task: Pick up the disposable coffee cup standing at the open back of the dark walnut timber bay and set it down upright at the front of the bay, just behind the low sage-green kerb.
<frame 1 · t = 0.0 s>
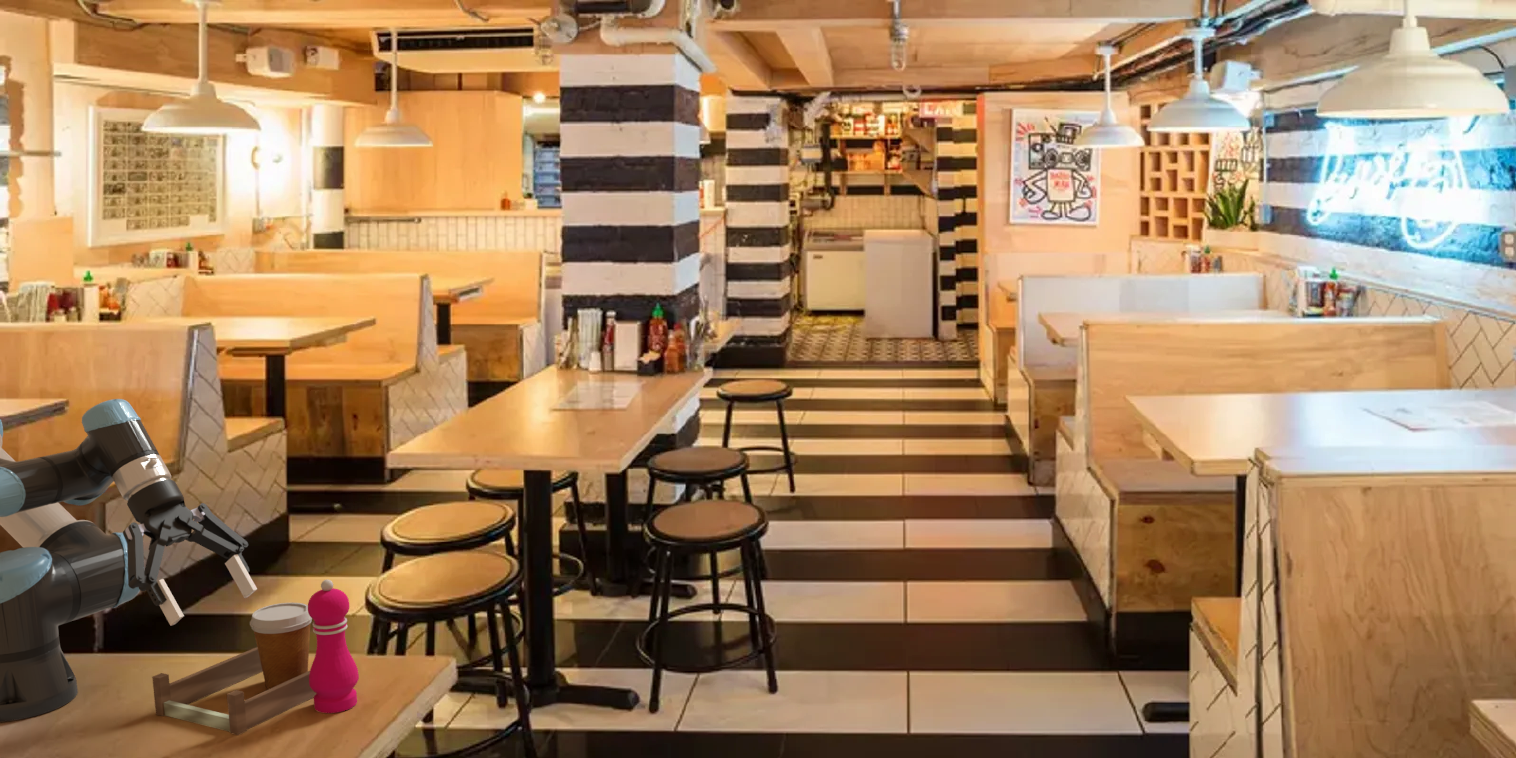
hand: (215, 607, 193), 15 cm above the table, tool tilted 35°, fingers open, 13 cm apart
bay: (251, 698, 196), on the table
disposable coffee cup: (286, 684, 203), on the table
pepper mill: (336, 706, 193), on the table
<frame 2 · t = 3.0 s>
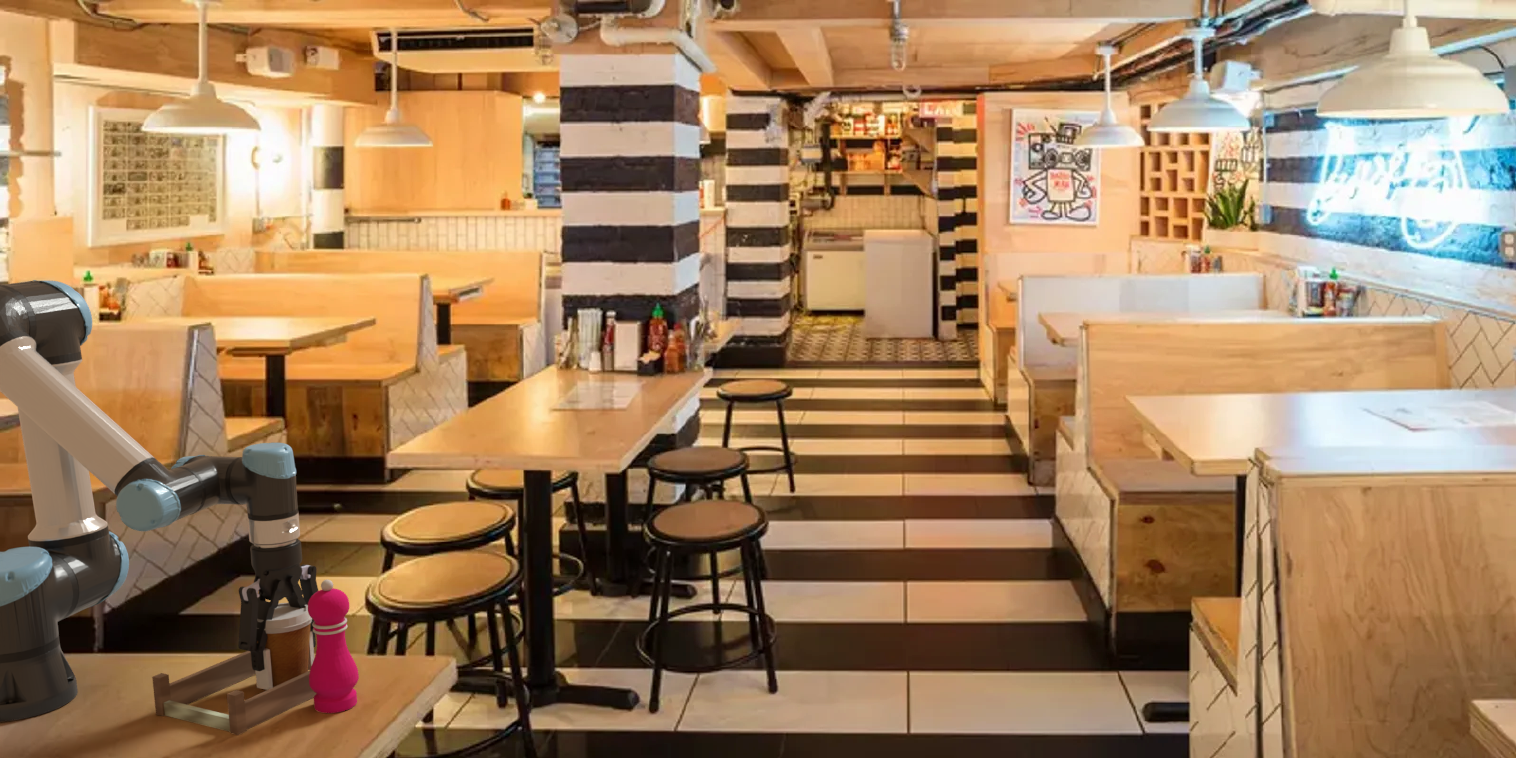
hand: (286, 678, 202), 1 cm above the table, tool pointing down, fingers closed on disposable coffee cup, 8 cm apart
disposable coffee cup: (287, 684, 203), on the table, touching gripper
everything else where it was.
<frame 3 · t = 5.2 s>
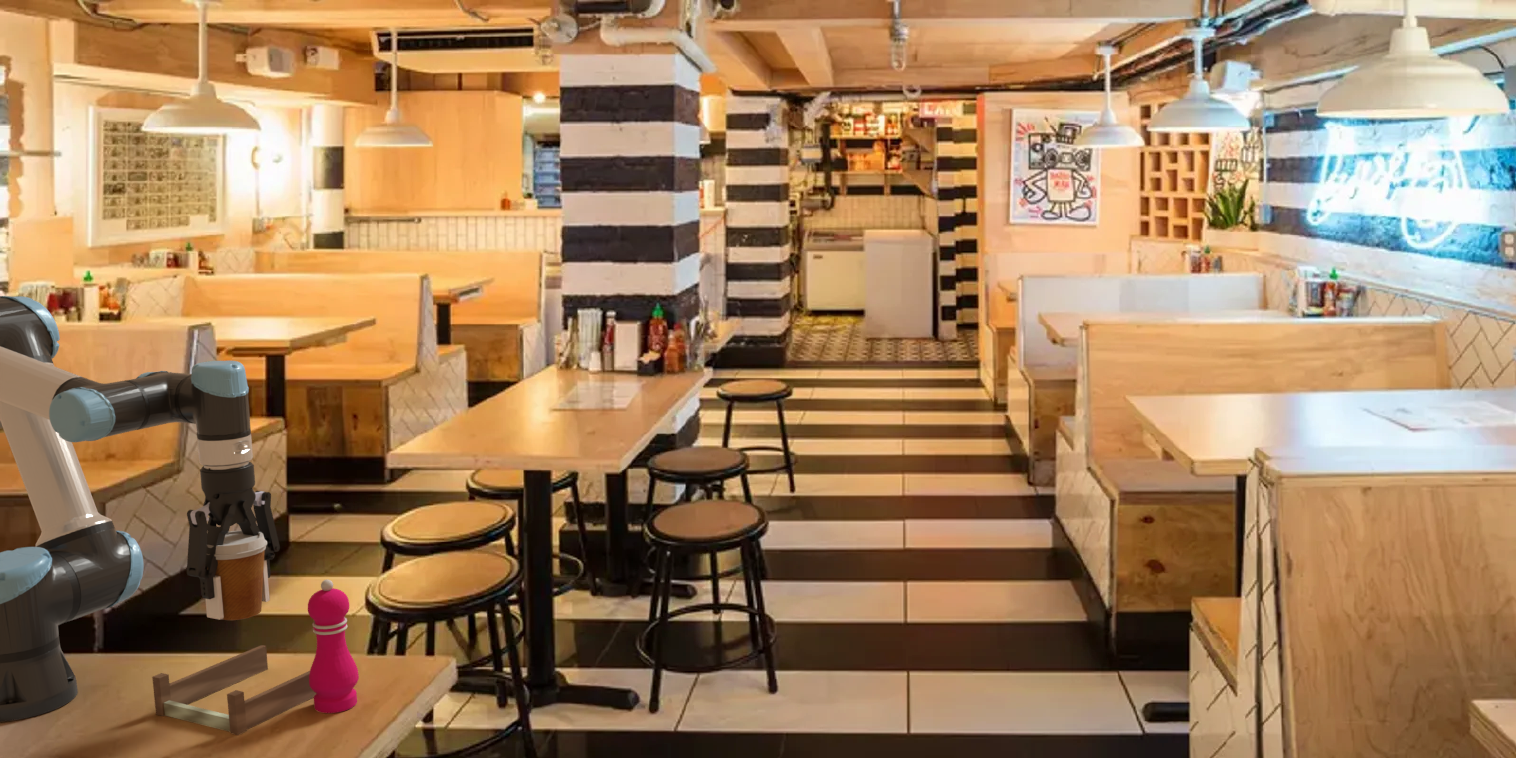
hand: (238, 608, 193), 15 cm above the table, tool pointing down, fingers closed on disposable coffee cup, 8 cm apart
disposable coffee cup: (239, 614, 193), point 14 cm above the table, touching gripper
everything else where it was.
when the fingers open (3 cm above the table, at t = 7.8 s): disposable coffee cup drops 2 cm, on the table.
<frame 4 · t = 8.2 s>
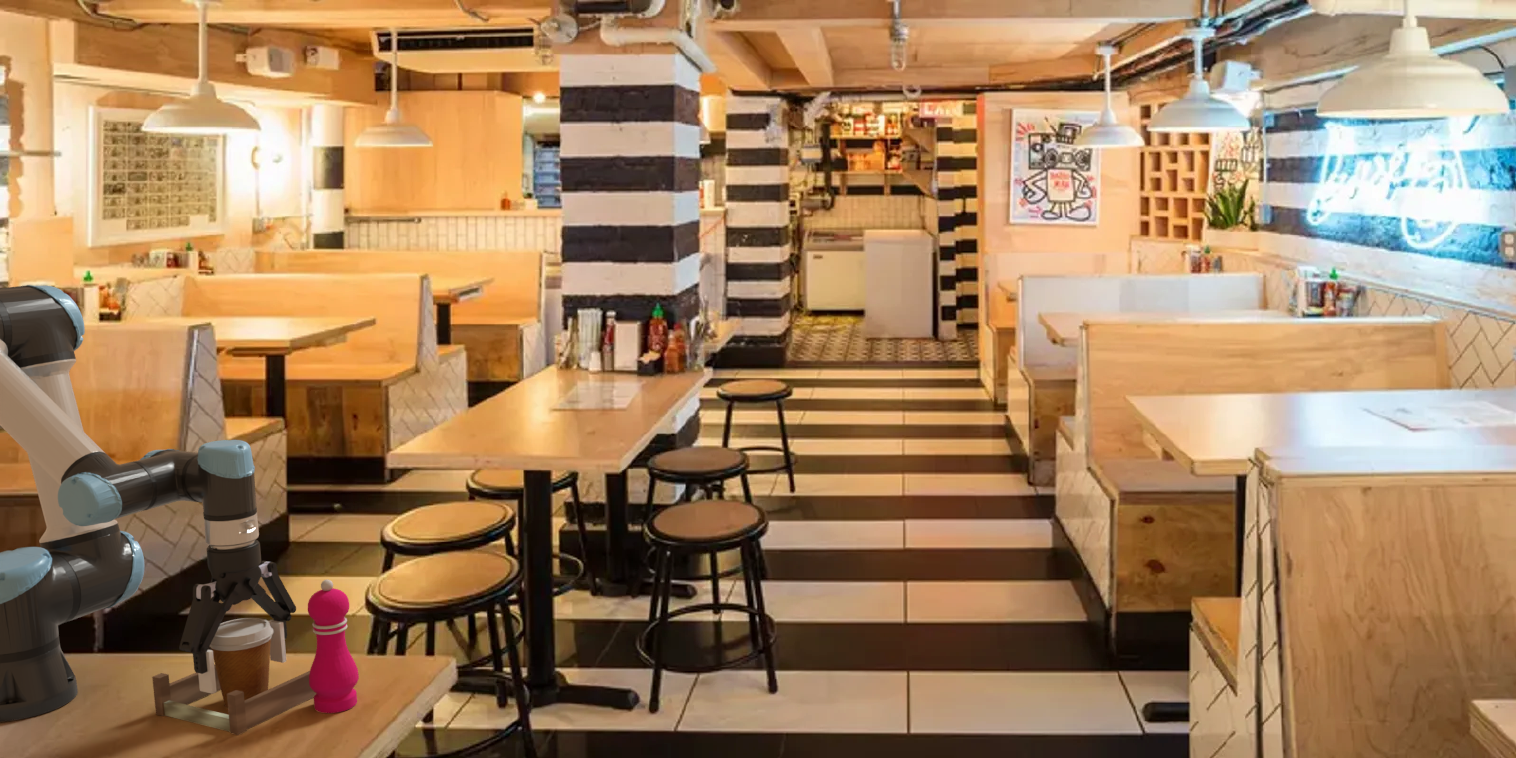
hand: (244, 675, 195), 4 cm above the table, tool pointing down, fingers open, 13 cm apart
disposable coffee cup: (246, 702, 196), on the table
everything else where it was.
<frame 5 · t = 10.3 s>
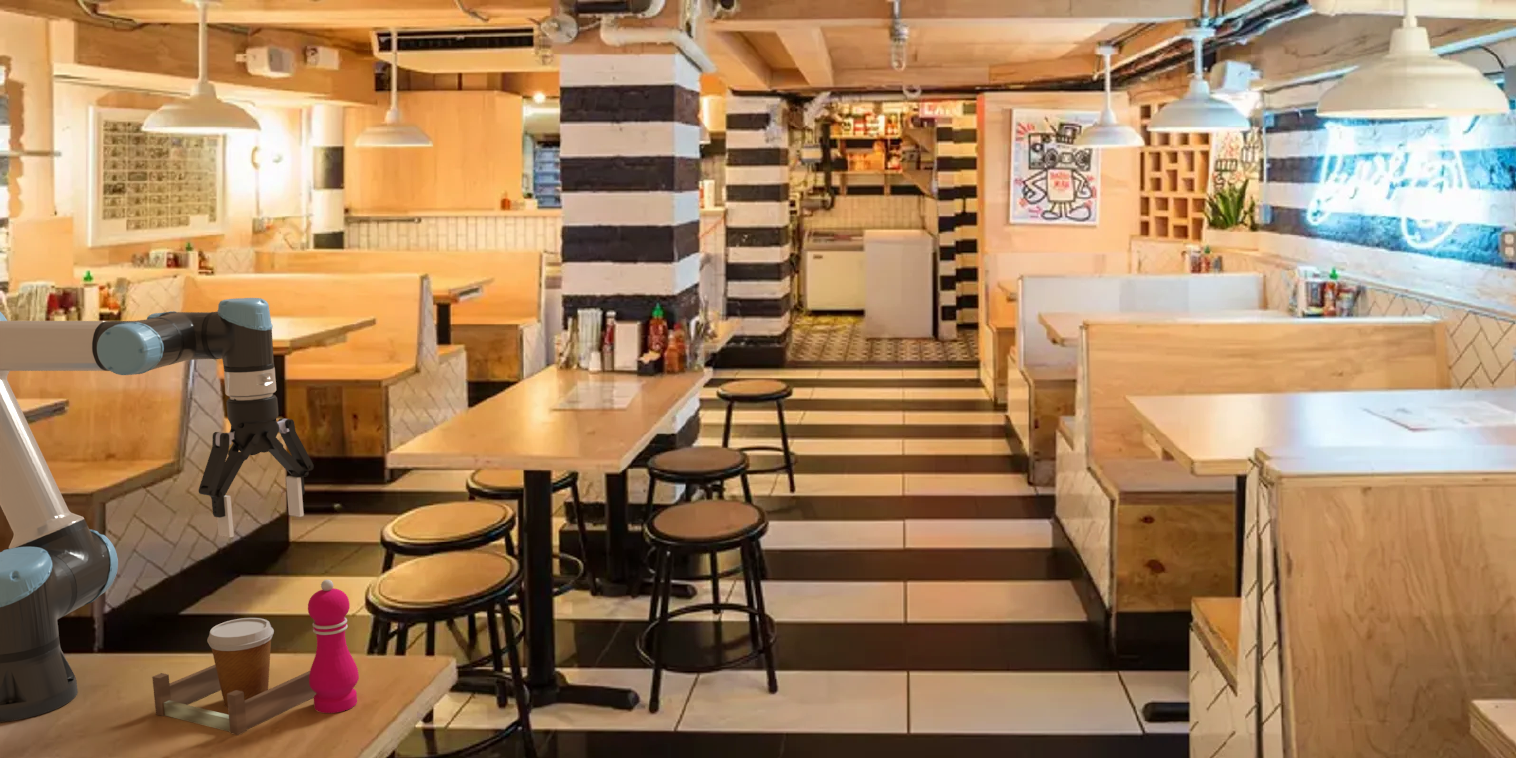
hand: (262, 525, 203), 25 cm above the table, tool pointing down, fingers open, 13 cm apart
nothing on the table moved.
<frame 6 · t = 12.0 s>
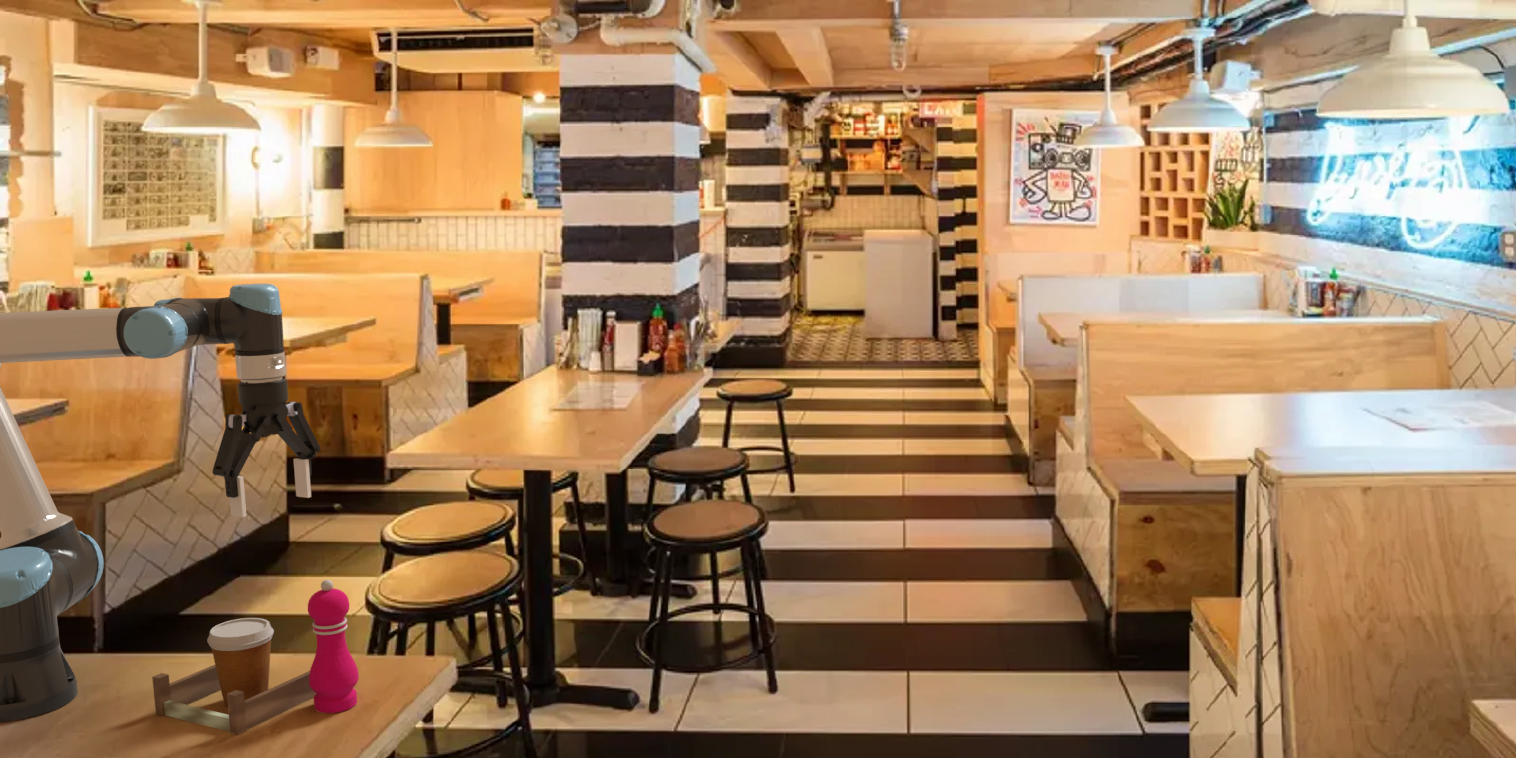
hand: (272, 506, 208), 27 cm above the table, tool pointing down, fingers open, 13 cm apart
nothing on the table moved.
at the end: disposable coffee cup inside the target area (0.5 cm from its centre), on the table; disposable coffee cup tilted 0°; the gripper is holding nothing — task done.
